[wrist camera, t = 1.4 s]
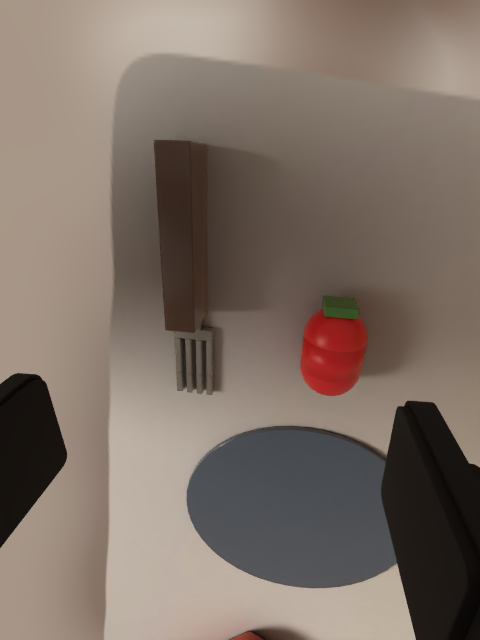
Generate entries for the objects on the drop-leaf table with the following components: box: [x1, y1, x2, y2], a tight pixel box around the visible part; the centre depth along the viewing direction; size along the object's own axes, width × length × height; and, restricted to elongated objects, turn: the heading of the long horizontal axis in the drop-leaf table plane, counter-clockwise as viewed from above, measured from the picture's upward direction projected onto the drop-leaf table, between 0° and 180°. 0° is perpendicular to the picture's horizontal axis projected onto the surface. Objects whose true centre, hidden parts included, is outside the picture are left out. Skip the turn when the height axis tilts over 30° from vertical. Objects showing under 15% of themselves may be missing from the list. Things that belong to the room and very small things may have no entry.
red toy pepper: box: [300, 296, 367, 396], centre depth 21 cm, size 4×6×4 cm, turn 178°
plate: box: [187, 426, 397, 588], centre depth 30 cm, size 19×19×1 cm
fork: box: [154, 140, 213, 395], centre depth 21 cm, size 3×16×3 cm, turn 178°
